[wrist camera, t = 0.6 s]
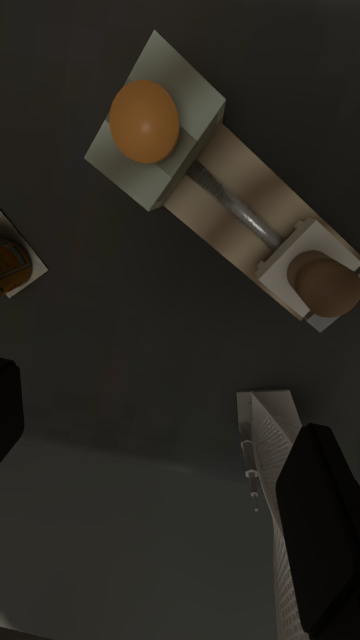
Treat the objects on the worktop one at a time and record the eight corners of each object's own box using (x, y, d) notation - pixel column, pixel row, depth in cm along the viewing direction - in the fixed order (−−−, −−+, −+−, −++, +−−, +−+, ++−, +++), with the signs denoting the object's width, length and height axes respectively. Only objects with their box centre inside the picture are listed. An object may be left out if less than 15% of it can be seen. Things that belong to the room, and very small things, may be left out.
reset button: (195, 125, 21) (192, 115, 18) (158, 178, 23) (151, 177, 20) (145, 79, 20) (134, 61, 17) (112, 138, 22) (96, 131, 19)
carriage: (344, 254, 30) (401, 283, 21) (292, 303, 33) (323, 347, 24) (303, 215, 29) (344, 228, 20) (253, 269, 32) (269, 302, 23)
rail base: (360, 258, 32) (415, 284, 23) (296, 315, 35) (324, 357, 27) (172, 79, 27) (154, 29, 19) (120, 166, 31) (84, 157, 22)
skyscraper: (235, 381, 40) (277, 717, 15) (297, 378, 39) (458, 737, 14) (238, 428, 43) (276, 768, 18) (295, 427, 42) (422, 788, 17)
